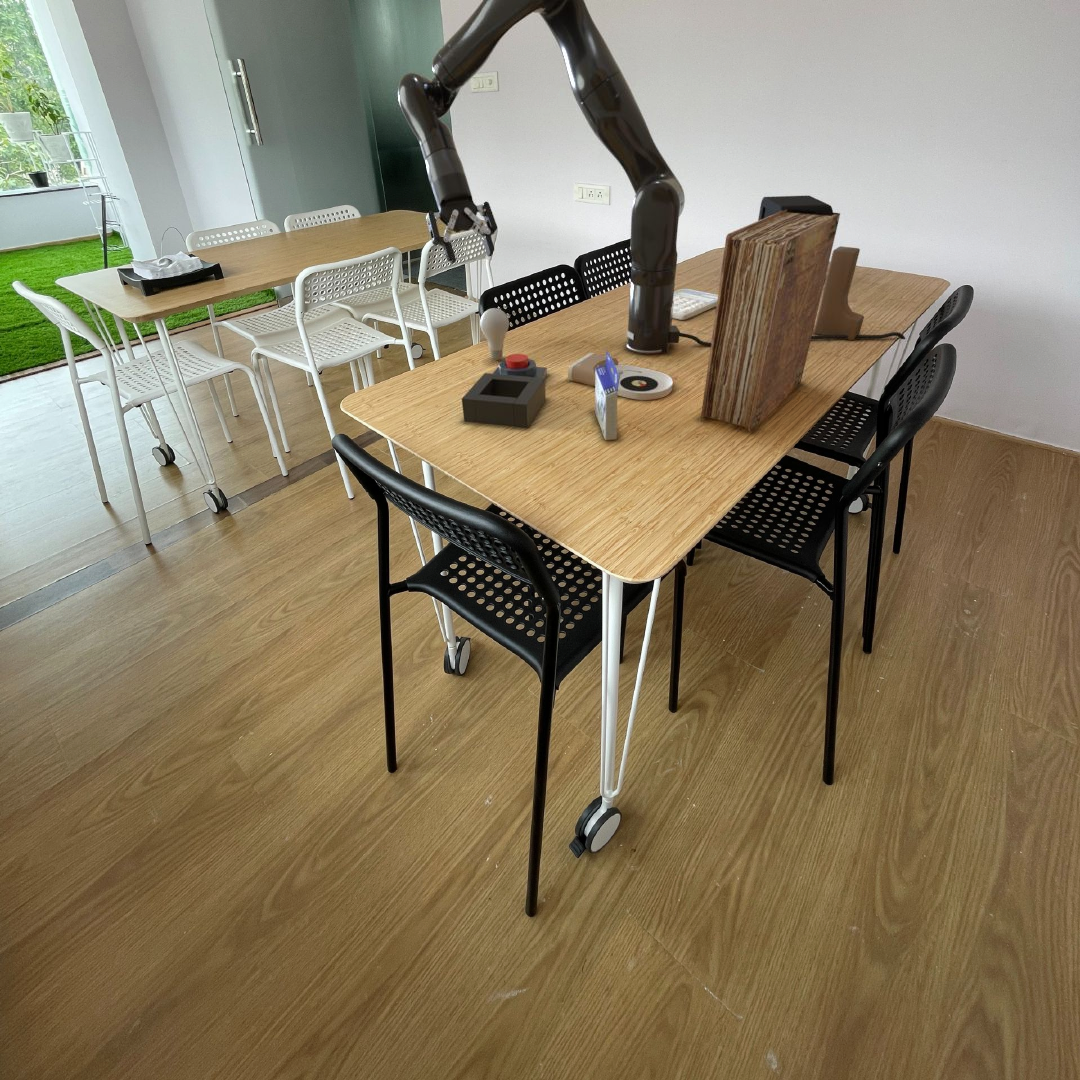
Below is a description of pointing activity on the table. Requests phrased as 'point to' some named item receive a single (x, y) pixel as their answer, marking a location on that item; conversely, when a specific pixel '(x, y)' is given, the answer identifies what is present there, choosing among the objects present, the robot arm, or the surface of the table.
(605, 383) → the ink box
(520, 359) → the button
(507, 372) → the switch
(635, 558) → the table surface
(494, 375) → the socket
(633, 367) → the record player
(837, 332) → the wooden block
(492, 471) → the table surface
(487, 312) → the lightbulb
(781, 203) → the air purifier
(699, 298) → the calculator
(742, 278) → the book
